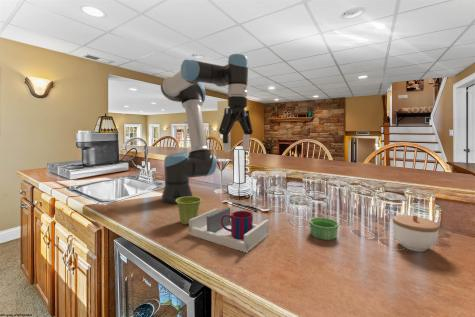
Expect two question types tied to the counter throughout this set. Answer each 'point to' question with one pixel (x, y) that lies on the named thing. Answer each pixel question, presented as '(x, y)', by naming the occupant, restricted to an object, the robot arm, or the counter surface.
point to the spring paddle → (218, 220)
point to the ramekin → (323, 228)
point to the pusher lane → (228, 233)
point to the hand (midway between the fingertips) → (236, 150)
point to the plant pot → (188, 208)
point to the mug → (239, 223)
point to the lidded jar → (415, 232)
